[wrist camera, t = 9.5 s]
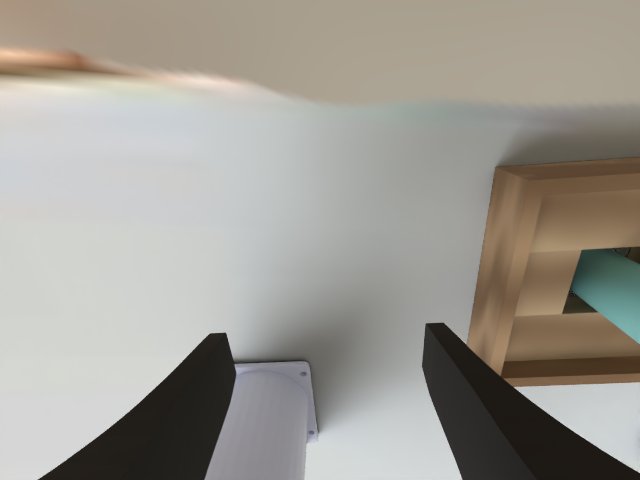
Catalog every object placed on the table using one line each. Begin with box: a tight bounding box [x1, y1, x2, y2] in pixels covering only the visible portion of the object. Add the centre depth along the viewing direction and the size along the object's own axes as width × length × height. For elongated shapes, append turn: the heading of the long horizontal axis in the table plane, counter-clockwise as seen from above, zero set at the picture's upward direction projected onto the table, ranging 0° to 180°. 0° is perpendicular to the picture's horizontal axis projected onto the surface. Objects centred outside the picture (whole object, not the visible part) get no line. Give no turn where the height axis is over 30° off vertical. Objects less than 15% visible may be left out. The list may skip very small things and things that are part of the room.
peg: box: [570, 248, 640, 344], centre depth 17 cm, size 3×3×6 cm
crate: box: [467, 157, 640, 387], centre depth 19 cm, size 14×14×3 cm
